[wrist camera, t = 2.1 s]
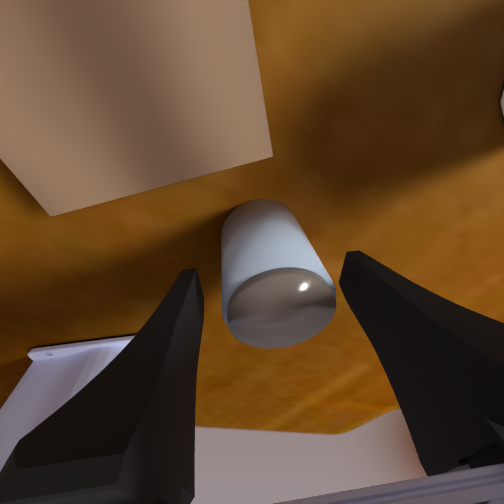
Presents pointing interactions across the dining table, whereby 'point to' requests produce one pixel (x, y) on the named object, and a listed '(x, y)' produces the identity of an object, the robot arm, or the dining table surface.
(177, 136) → the walnut box
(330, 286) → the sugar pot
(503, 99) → the white cup
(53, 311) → the dining table surface
